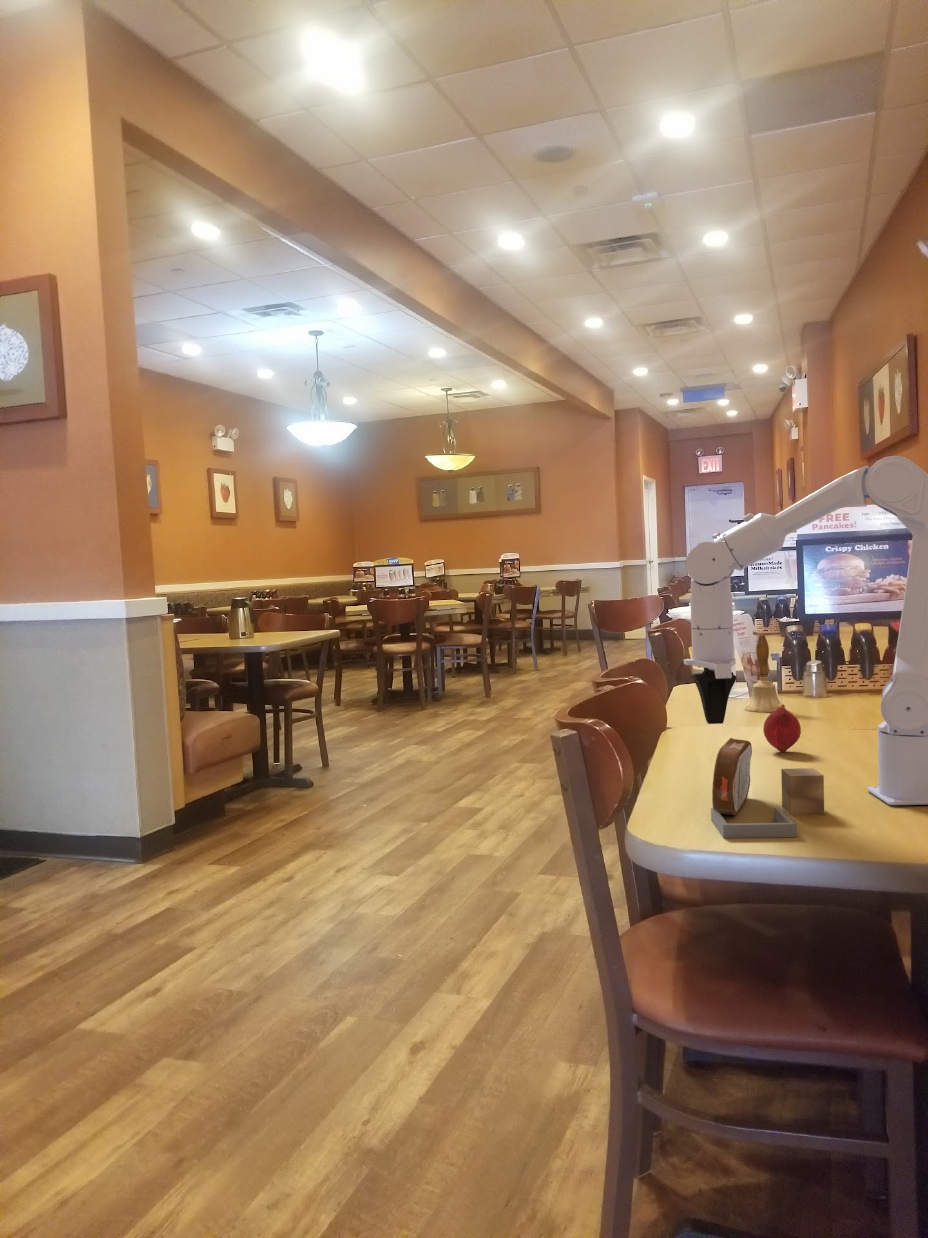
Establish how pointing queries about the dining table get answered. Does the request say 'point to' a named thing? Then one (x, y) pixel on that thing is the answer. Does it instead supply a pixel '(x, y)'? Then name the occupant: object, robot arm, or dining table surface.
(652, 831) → the dining table surface
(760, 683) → the hand bell
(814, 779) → the walnut block
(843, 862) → the dining table surface
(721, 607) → the robot arm
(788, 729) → the onion
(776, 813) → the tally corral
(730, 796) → the tin
